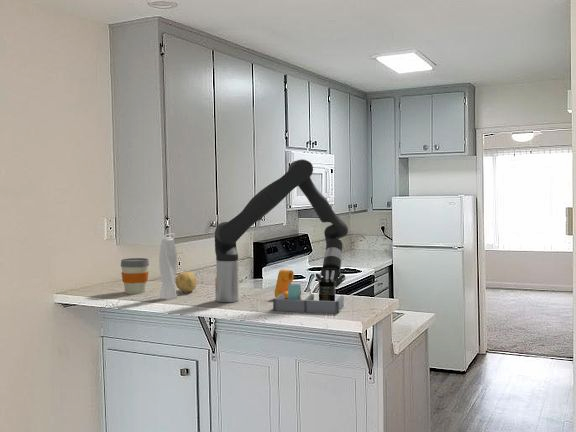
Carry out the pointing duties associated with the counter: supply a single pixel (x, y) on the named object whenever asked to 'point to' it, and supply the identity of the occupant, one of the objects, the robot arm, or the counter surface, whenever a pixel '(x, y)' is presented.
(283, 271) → the bracket
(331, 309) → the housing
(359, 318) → the counter surface
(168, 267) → the skyscraper
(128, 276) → the reusable coffee cup
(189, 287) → the potato
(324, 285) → the supplement container
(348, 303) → the counter surface
